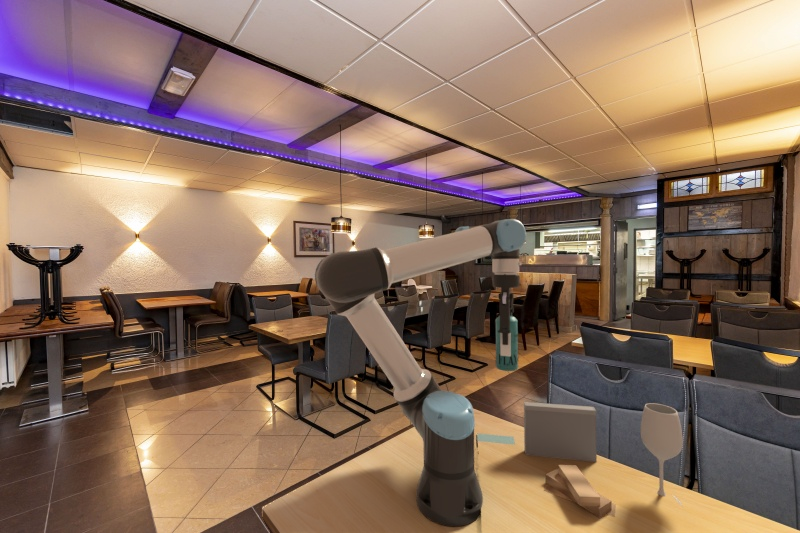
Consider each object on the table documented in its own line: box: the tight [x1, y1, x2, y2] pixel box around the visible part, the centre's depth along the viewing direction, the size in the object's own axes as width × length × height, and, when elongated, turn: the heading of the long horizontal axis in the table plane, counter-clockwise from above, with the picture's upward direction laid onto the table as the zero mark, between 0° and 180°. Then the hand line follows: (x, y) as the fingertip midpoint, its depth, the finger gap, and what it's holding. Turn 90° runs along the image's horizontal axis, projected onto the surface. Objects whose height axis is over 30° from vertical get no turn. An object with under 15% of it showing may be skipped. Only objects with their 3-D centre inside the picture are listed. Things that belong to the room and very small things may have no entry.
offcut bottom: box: [543, 483, 617, 518], centre depth 75 cm, size 14×4×2 cm, turn 54°
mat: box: [476, 433, 516, 455], centre depth 99 cm, size 11×11×1 cm
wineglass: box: [640, 402, 684, 507], centre depth 76 cm, size 8×8×21 cm
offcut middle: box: [545, 468, 613, 519], centre depth 75 cm, size 13×4×2 cm, turn 28°
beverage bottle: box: [494, 304, 519, 372], centre depth 96 cm, size 6×7×20 cm
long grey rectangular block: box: [523, 401, 598, 463], centre depth 91 cm, size 18×2×15 cm, turn 78°
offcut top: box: [557, 464, 600, 507], centre depth 75 cm, size 11×4×2 cm, turn 176°
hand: (506, 352), depth 96 cm, fingers closed on beverage bottle, 6 cm apart
